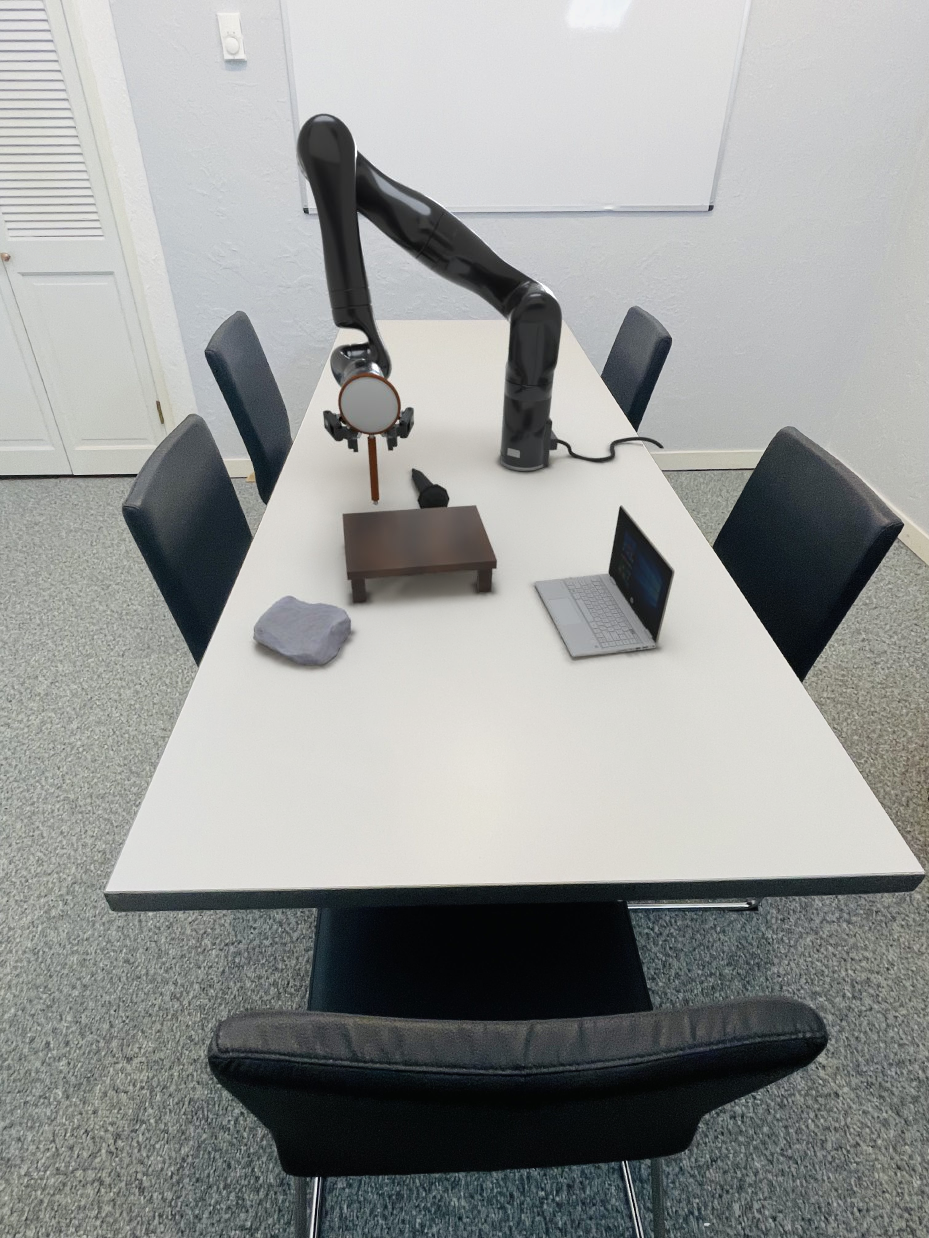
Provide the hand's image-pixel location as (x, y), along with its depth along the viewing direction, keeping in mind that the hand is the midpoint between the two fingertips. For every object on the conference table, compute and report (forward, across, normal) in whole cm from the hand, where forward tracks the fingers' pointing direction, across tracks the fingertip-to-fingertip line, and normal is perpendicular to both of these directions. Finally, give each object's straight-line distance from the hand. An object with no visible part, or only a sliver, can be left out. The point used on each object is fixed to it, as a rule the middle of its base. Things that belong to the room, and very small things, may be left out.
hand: (373, 445), depth 99 cm
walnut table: (-1, +6, +22) cm, 22 cm away
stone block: (+15, -12, +22) cm, 29 cm away
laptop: (+15, +30, +22) cm, 40 cm away
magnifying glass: (-3, 0, +11) cm, 12 cm away
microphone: (-25, +11, +22) cm, 35 cm away
